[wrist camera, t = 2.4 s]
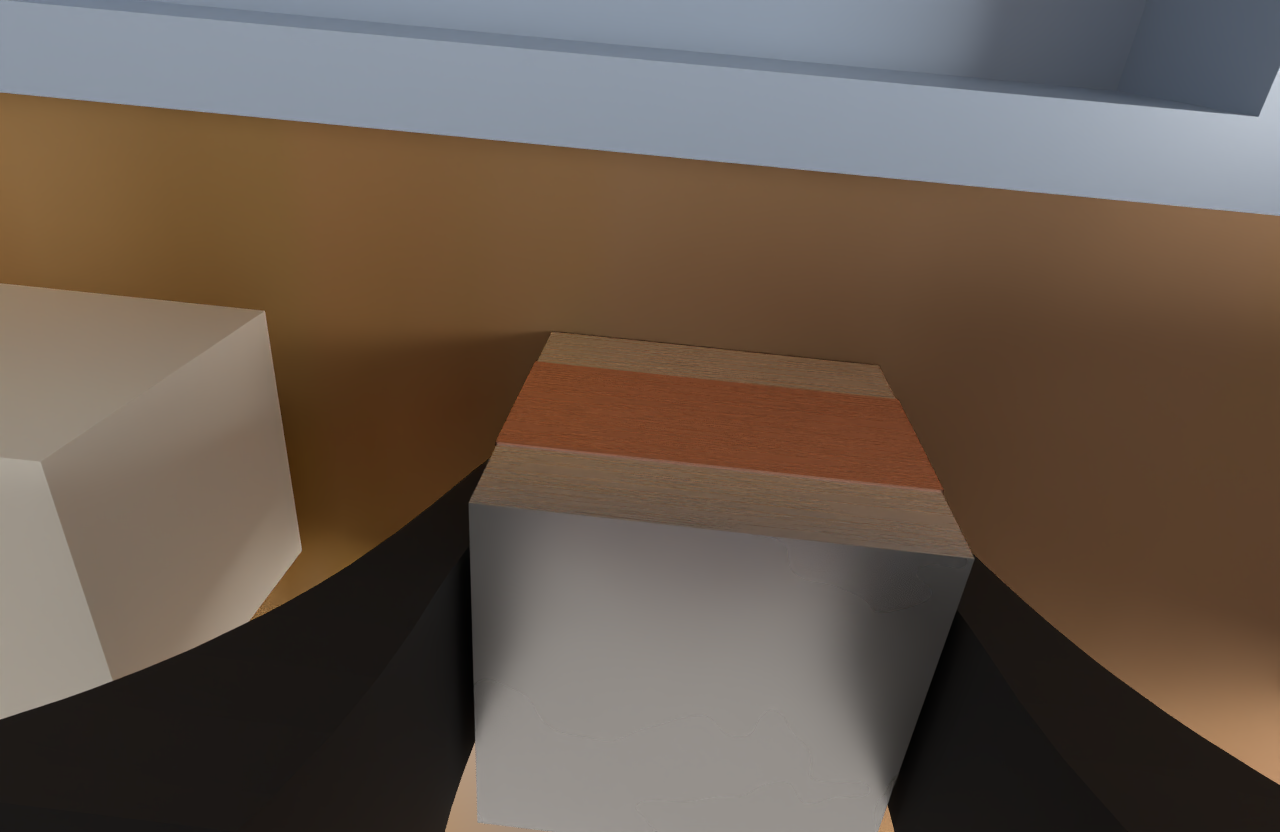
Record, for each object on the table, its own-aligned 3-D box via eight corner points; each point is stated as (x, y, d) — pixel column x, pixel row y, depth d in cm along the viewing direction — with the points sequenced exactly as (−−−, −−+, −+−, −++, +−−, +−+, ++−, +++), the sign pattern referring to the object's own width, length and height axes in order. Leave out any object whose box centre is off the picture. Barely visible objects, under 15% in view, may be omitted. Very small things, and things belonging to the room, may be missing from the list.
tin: (880, 364, 11) (976, 557, 7) (817, 617, 13) (864, 871, 9) (550, 330, 11) (467, 500, 7) (543, 586, 14) (476, 823, 10)
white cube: (267, 308, 12) (40, 461, 8) (303, 547, 14) (140, 765, 10) (-22, 279, 12) (-393, 414, 8) (58, 520, 14) (-202, 723, 10)
